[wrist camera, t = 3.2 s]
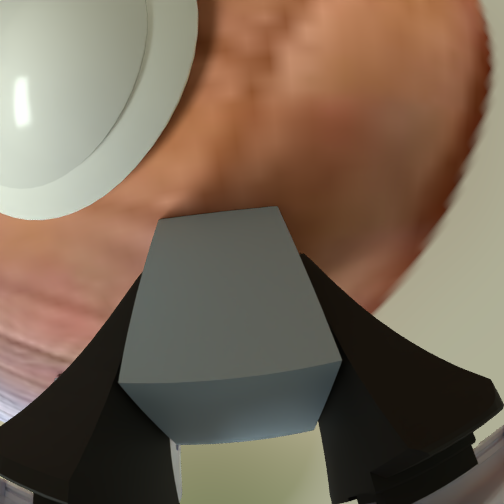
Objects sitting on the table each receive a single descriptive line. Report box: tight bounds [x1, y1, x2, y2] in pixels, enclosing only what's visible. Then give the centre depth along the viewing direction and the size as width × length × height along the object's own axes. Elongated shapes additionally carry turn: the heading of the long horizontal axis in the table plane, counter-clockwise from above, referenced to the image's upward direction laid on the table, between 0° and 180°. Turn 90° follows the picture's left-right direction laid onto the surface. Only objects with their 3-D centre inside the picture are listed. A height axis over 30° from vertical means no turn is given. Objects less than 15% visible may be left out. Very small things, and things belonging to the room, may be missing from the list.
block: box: [118, 206, 342, 445], centre depth 8 cm, size 4×4×6 cm
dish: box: [0, 0, 198, 220], centre depth 5 cm, size 11×11×1 cm
